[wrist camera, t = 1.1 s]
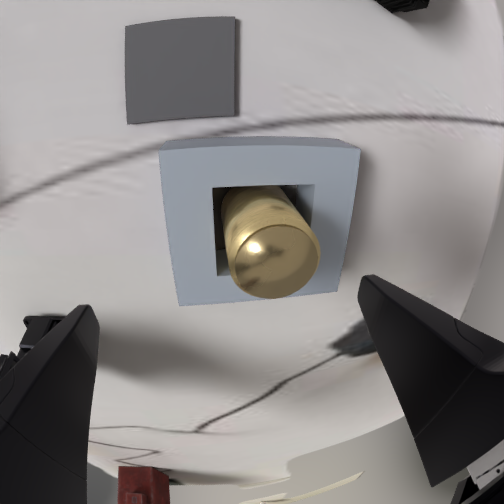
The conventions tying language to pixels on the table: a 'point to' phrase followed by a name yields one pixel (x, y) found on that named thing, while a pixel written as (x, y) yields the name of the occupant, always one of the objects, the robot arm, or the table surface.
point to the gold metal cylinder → (267, 242)
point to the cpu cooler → (403, 5)
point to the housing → (253, 174)
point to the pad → (179, 69)
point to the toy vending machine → (142, 486)
